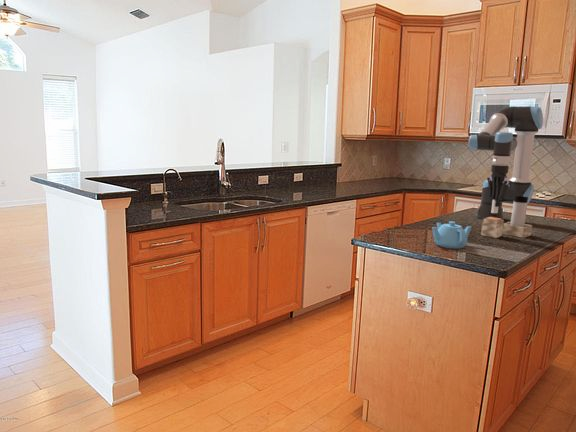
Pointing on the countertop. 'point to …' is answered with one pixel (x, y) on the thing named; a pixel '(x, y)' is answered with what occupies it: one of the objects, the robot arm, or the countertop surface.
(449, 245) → the teapot
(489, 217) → the orange square panel
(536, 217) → the countertop surface
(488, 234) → the dock
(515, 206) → the travel mug
